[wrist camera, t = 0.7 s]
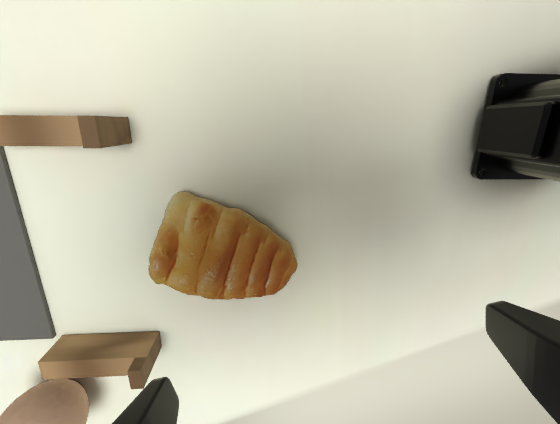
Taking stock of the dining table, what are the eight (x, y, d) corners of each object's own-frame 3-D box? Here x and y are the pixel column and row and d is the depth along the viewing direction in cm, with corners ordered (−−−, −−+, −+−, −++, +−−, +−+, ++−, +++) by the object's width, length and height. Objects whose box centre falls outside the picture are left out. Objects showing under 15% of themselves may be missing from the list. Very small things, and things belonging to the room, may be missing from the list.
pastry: (306, 222, 20) (317, 245, 16) (276, 300, 22) (280, 336, 18) (174, 183, 18) (153, 198, 15) (153, 270, 20) (130, 303, 17)
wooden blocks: (128, 117, 17) (94, 116, 13) (161, 347, 22) (143, 388, 19) (3, 116, 16) (-65, 114, 13) (67, 351, 21) (30, 394, 18)
